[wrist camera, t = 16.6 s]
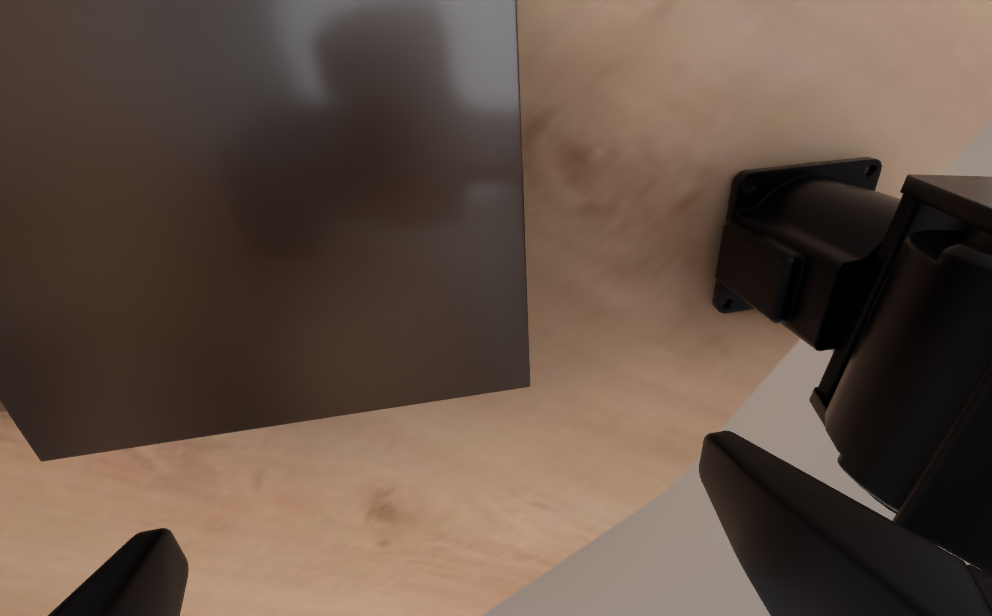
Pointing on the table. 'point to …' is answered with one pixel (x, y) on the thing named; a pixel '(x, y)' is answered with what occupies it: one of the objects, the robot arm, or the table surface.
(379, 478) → the table surface
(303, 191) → the organizer
